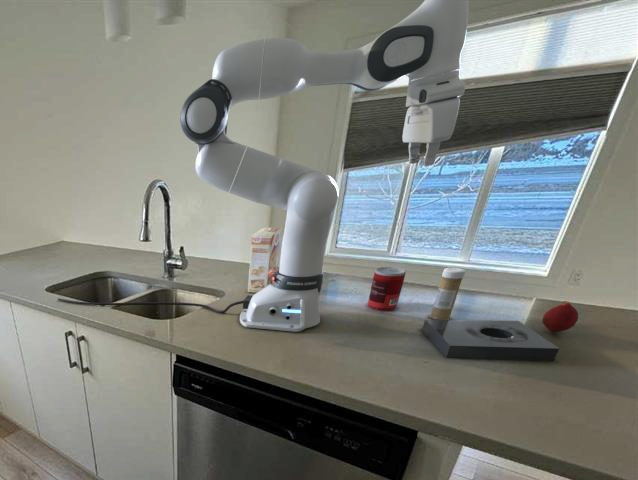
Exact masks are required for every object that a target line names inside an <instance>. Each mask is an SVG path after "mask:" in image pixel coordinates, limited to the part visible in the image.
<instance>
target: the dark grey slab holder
mask: <svg viewBox="0 0 638 480" xmlns="http://www.w3.org/2000/svg"><path fill="white" fill-rule="evenodd" d="M421 331H422V332H423V333H424V335H426V336H427V338H428V339H429V340H430V341H431V342H432V343H433V344H434V345H435V347H436V348H437V349H438V350H439V351H440V352H441V353H442V354H443V355H444V357H446V358H456V359H457V358H458V359H482V360H483V359H485V360H486V359H487V360H512V361H513V360H514V361H543V362H545V361H546V362H554V361H555V359H556V357H557V355H558V353H559V351H560V348H559V347H558V346H557V345H556V344H555V343H552V342H550V341H549V340H548V339H546V337H545V338H544V337H543V336H542V335H540V334H538V333H537V332H535V331H534V330H533V329H532V328H530V327H529V326H527V325H525V324H524V323H522V322H521V321H520V320H492V319H491V320H488V319H486V320H485V319H484V320H482V319H481V320H480V319H475V320H474V319H448V320H435V319H424V322H423V325H422V328H421Z"/></svg>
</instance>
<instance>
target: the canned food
mask: <svg viewBox="0 0 638 480" xmlns="http://www.w3.org/2000/svg"><path fill="white" fill-rule="evenodd" d="M406 272H407V271H406V269H404V268H401V267H398V266H397V267H396V266H380V267H377V268H376V269H375V270H374V274H373V278H372V282H371V287H370V292H369V296H368V301H367V306H368V307H369V308H370V309H373V310H376V311H383V312H385V311H386V312H387V311H393V310H395V309H396V308H397V306H398V303H399V299H400V296H401V292H402V289H403V285H404V281H405V278H406Z"/></svg>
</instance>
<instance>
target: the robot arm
mask: <svg viewBox="0 0 638 480" xmlns="http://www.w3.org/2000/svg"><path fill="white" fill-rule="evenodd" d="M469 7H470V5H469V0H424V1H423V2H422V3H421V4H420V5H419V6H418V7H417V8H416V9H415V10H413V11H412V12H411V13H410V14H409V15H407V16H406V17H404V18H403V19H402V20H400V21H399V22H398V23H396V24H394V25H393V26H392V27H390V28H388V29H386V30H384V31H383V32H382V33H380V34H379V35H378V36H377V37H376V38H374V39H373V40H371V41H369V42H367V43H366V44H365V45H362V46H360V47H359V48H354V49H345V50H334V51H315V50H311V49H309V48H307V47H306V46H305V45H303V44H302V43H301V42H300V41H299V40H298V39H295V38H286V37H285V38H284V37H271V38H269V37H268V38H262V39H261V38H260V39H256V40H250V41H246V42H241V43H239V44H235V45H233V46H230V47H227V48H225V49H223V50H222V51H220V53H219V54H218V55H217V57H216V59H215V61H214V64H213V67H212V73H211V74H212V75H211V79H207V81H205V83H203V84H202V85H201V86H199V87H198V88H196V89H195V90H194V91H192V93H190V94H189V95H188V96H187V98H186V99H185V101H184V102H183V104H182V107H181V110H180V118H179V123H180V127H181V130H182V132H183V134H184V135H185V137H187V139H188V140H190V141H192V142H194V143H195V144H196V146H197V155H196V158H195V165H194V167H195V173H196V175H197V177H198V178H199V179H200V180H202V181H204V182H205V183H207V184H209V185H211V186H213V187H214V188H216V189H218V190H221V191H222V192H225V193H229V194H231V195H234V196H237V197H240V198H243V199H245V200H248V201H250V202H253V203H257V204H261V205H263V206H268V207H272V208H275V209H279V210H282V211H284V212H285V211H286V218H285V223H284V224H285V225H284V230H283V235H282V239H281V246H280V249H281V250H280V255H279V265H278V270H277V272H276V271H275V270H270V271H269V277H270V278H271V279H270V285H268V286H267V287H265V288H264V289H262V290H261V291H259V292H258V293H253V295H246V297H244V299H243V300H238V301H235V302H233V303H230V304H229V305H227V307H226V308H224V309H223V310H217V309H215V308H212V307H211V306H209V305H206V304H202V303H193V302H175V301H174V302H172V301H171V302H169V301H159V302H158V301H149V302H148V301H146V302H145V301H144V302H142V301H141V302H90V301H78V300H71V299H65V298H60V297H59V298H58V297H57V301H61V302H64V303H70V304H78V305H89V306H147V305H149V306H153V305H155V306H156V305H158V306H159V305H161V306H163V305H165V306H189V307H190V306H191V307H200V308H205V309H207V310H210V311H212V312H214V313H218V314H224V313H226V312H228V310H230V308H232V307H234V306H237V305H242V310H241V312H240V314H239V322H240V324H241V325H242V326H243V327H245V328H250V329H259V330H260V329H261V330H272V331H281V332H282V331H283V332H294V333H299V332H303V331H304V330H305V329H308V328H312V327H315V326H317V325H319V324H320V322H321V317H320V316H321V315H320V307H319V306H320V303H319V302H320V293H321V290H322V287H323V282H324V281H323V279H324V272H323V267H324V266H323V265H324V260H325V254H326V248H327V242H328V238H329V234H330V232H331V228H332V225H333V220H334V218H335V217H334V216H335V213H336V209H337V205H338V201H339V187H338V184H337V182H336V181H335V179H334V178H333V177H332V176H330V175H328V174H326V173H324V172H321V171H320V170H317V169H314V168H311V167H309V166H306V165H302V164H300V163H296V162H293V161H291V160H287V159H284V158H282V157H279V156H276V155H273V154H271V153H267V152H264V151H262V150H259V149H256V148H253V147H250V146H247V145H244V144H241V143H239V142H236V141H233V140H232V139H231V138H229V136H228V135H227V133H228V132H227V131H228V123H229V114H230V110H231V109H232V108H233V107H234V106H235V105H237V104H240V103H242V102H246V101H247V102H248V101H260V100H269V99H273V98H278V97H282V96H287V95H288V94H292V93H294V92H296V91H297V92H298V91H300V90H302V89H306V88H308V87H309V88H310V87H315V86H329V85H345V84H346V85H351V86H354V87H356V88H358V89H360V90H363V91H366V92H376V91H379V90H381V89H383V88H385V87H387V86H388V85H390V84H392V83H394V82H396V81H399V80H400V79H402V78H403V77H407V78H408V83H407V84H408V85H407V92H406V100H405V107H406V108H407V107H408V108H407V110H406V114H405V118H404V124H403V130H402V142H403V143H407V144H408V155H409V158H408V163H409V164H412V165H413V164H418V163H419V162H420V159H421V154H420V151H421V150H420V149H421V146H422V144H426V147H425V149H426V151H425V155H424V157H423V160H422V166H424V167H429V166H433V165H434V164H435V162H436V156H437V154H438V152H439V150H440V147H441V142H445V141H448V140H450V139H451V137H452V135H453V133H454V131H455V127H456V124H457V119H458V114H459V110H460V104H461V103H460V102H461V100H460V97H462V96H463V95H464V94H465V90H466V83H465V81H464V80H462V79H461V77H460V73H461V54H462V51H463V49H464V46H465V44H466V37H467V32H468V24H469V11H470V9H469Z"/></svg>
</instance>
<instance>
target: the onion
mask: <svg viewBox="0 0 638 480" xmlns="http://www.w3.org/2000/svg"><path fill="white" fill-rule="evenodd" d="M578 312H579V311H577V309H576V307H574V306H573V305H572V304H571V303H570V301H568V300H564V301H562V304H558V305H554V306H552V307H551V308H549V309H548V310H546V312H545V313H544V314H543V316H542V324H543V325H544V327H545V328H546V329H547V330H548V331H549V333H552V334H557V333H561V332H564V331H567V330H570V329H571V328H573V327H574V326H575V325H576V324H577V322H578V320H579V313H578Z"/></svg>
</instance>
